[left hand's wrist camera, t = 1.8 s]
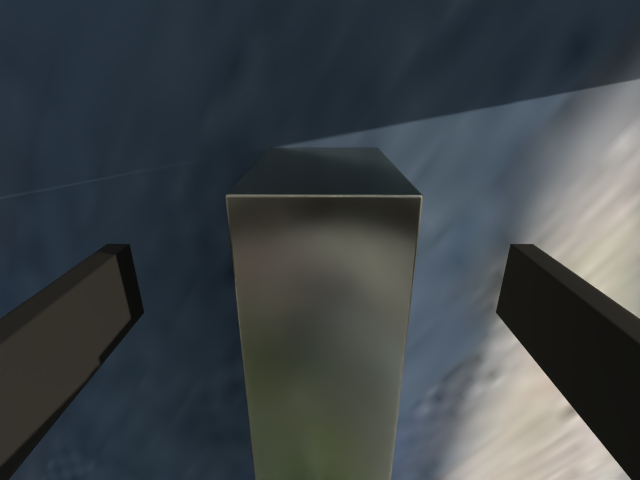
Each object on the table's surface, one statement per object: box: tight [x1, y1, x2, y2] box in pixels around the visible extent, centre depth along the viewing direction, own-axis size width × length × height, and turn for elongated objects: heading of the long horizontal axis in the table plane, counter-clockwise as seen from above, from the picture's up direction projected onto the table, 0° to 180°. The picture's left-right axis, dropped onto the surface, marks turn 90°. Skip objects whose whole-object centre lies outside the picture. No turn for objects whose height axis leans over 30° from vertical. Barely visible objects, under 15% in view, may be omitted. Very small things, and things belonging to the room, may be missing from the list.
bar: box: [225, 148, 423, 480], centre depth 18 cm, size 23×5×8 cm, turn 0°
